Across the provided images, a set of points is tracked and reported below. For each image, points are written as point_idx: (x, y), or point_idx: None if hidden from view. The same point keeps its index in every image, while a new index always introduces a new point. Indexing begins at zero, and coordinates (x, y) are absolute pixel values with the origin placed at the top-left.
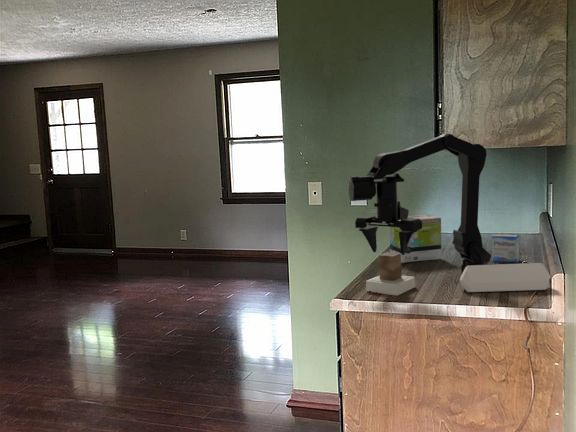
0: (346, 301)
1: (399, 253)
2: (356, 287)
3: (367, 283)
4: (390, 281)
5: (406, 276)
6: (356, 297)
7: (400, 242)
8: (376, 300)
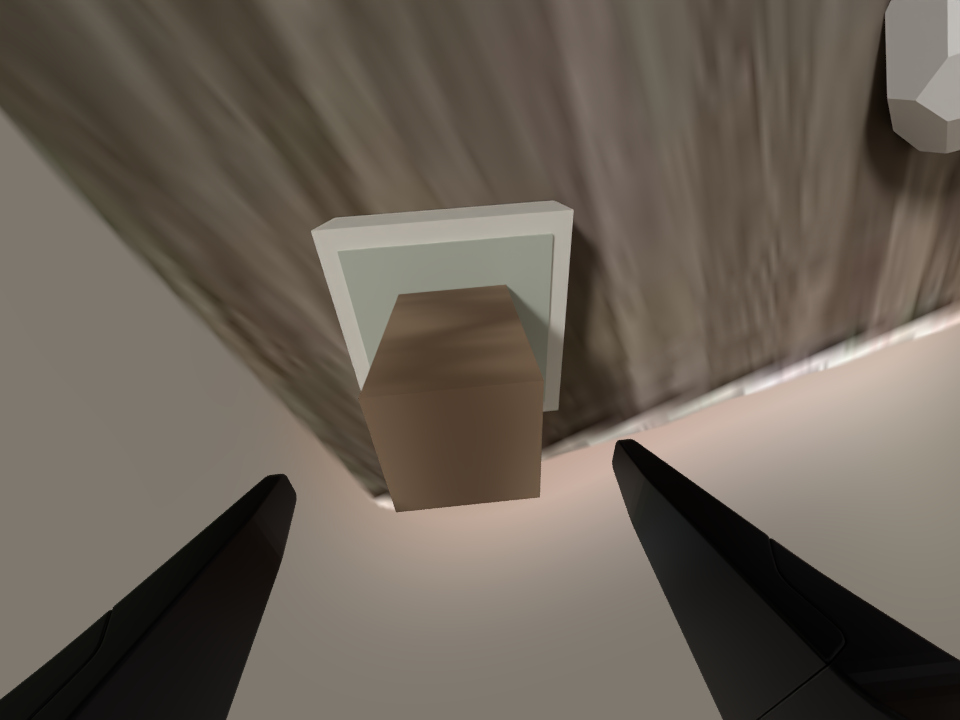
0: None
1: (533, 390)
2: (289, 370)
3: None
4: None
5: (520, 242)
6: None
7: (701, 650)
8: None
